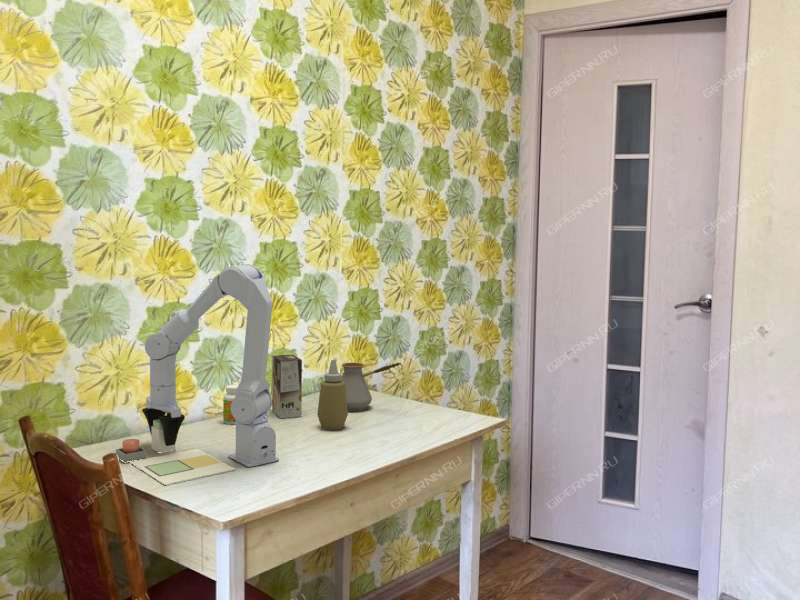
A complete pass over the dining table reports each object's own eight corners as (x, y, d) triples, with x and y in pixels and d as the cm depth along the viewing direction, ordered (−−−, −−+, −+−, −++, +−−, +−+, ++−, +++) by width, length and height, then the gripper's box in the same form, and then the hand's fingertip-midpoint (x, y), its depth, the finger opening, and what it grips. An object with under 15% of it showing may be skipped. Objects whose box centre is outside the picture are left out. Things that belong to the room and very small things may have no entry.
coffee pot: (325, 409, 219) (325, 358, 218) (344, 401, 230) (345, 352, 228) (392, 419, 211) (393, 366, 209) (408, 410, 221) (410, 359, 219)
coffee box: (302, 416, 211) (303, 359, 209) (279, 418, 208) (280, 360, 207) (292, 409, 219) (293, 353, 218) (270, 410, 217) (271, 355, 215)
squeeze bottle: (350, 424, 205) (351, 358, 203) (344, 432, 197) (346, 363, 195) (320, 422, 205) (321, 356, 203) (314, 430, 197) (314, 362, 195)
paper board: (235, 470, 165) (235, 468, 165) (164, 485, 155) (164, 484, 155) (197, 450, 179) (197, 448, 179) (129, 463, 168) (129, 461, 168)
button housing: (146, 459, 171) (146, 450, 171) (124, 463, 168) (124, 454, 168) (137, 453, 175) (137, 445, 175) (115, 457, 172) (115, 449, 172)
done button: (142, 452, 171) (142, 441, 171) (126, 455, 169) (126, 444, 169) (135, 448, 174) (135, 437, 174) (120, 451, 172) (120, 440, 171)
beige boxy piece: (175, 450, 178) (175, 421, 178) (158, 453, 176) (158, 423, 175) (167, 446, 181) (167, 417, 181) (151, 449, 179) (151, 420, 178)
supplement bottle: (219, 422, 203) (219, 386, 202) (232, 418, 208) (232, 383, 207) (234, 425, 200) (234, 389, 199) (248, 421, 205) (248, 385, 204)
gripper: (133, 380, 180) (134, 436, 181) (159, 392, 169) (160, 451, 170) (162, 377, 184) (162, 431, 186) (189, 388, 174) (189, 446, 175)
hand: (163, 441), depth 178 cm, fingers open, 7 cm apart
